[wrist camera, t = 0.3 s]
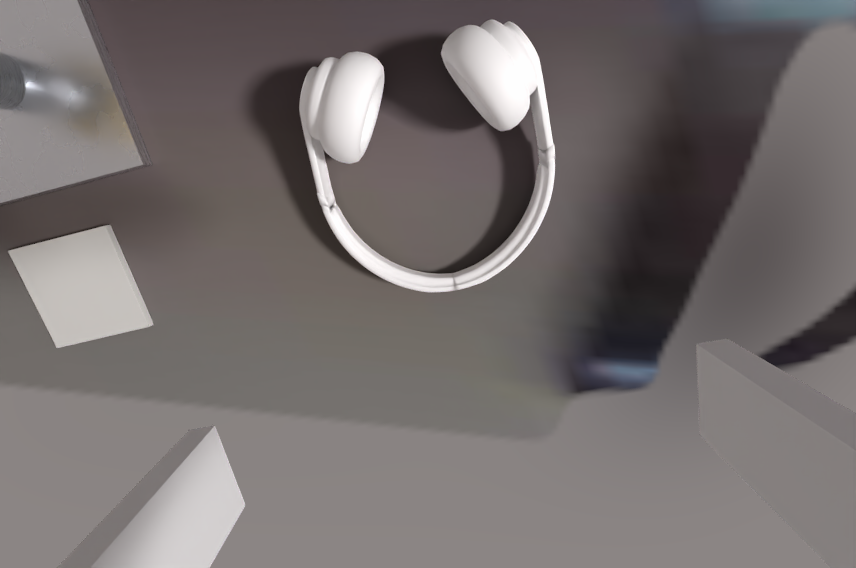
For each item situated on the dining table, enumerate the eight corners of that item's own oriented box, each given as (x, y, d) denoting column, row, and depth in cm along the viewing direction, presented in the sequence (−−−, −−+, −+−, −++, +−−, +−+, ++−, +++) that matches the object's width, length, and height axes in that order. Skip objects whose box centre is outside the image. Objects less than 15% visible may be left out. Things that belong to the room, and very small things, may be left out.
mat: (14, 249, 39) (7, 250, 38) (110, 224, 38) (105, 225, 37) (62, 345, 41) (57, 348, 41) (153, 324, 40) (149, 326, 40)
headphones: (294, 76, 34) (357, 294, 41) (257, 61, 27) (341, 332, 34) (531, 21, 33) (554, 258, 40) (560, -10, 25) (582, 288, 32)
